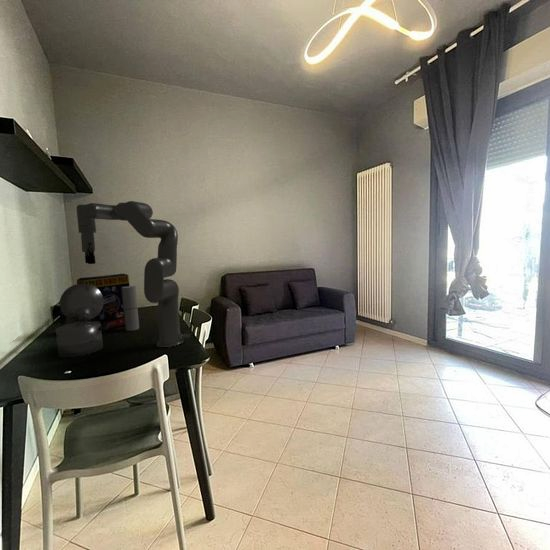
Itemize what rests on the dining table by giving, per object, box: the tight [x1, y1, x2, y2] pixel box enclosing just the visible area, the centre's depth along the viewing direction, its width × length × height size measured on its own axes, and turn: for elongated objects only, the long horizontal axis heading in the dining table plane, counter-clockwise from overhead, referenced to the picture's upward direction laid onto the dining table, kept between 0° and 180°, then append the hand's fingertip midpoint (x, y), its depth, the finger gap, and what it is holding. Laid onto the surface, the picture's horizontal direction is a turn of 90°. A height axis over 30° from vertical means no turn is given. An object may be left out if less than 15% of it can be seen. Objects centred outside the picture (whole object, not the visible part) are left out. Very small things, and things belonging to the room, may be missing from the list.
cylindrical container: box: [122, 285, 140, 332], centre depth 180 cm, size 7×7×25 cm
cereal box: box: [76, 273, 131, 332], centre depth 186 cm, size 27×11×32 cm, turn 142°
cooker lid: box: [59, 283, 104, 322], centre depth 156 cm, size 19×19×3 cm
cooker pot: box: [46, 321, 109, 359], centre depth 146 cm, size 24×20×12 cm
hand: (90, 263), depth 157 cm, fingers open, 9 cm apart
